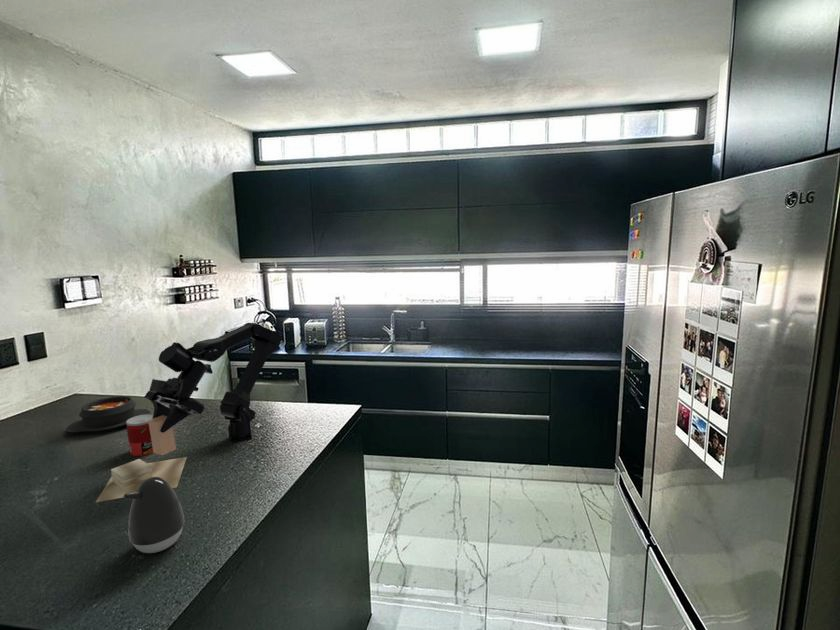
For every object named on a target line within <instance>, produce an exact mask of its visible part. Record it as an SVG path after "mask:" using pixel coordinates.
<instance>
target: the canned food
mask: <svg viewBox="0 0 840 630" xmlns="http://www.w3.org/2000/svg"><path fill="white" fill-rule="evenodd" d="M152 418H153V414H151V413H150V414H146V415H139V416H135V417H132V418H130V419H128V420H127V421H126V425H125V426H126V432H127V440H128V446H129V452H130V455H131V456H133V457H143V456H148V455H151V454H155V453H154V452H153V446H152V441H151V435H150V429H149V423H148V420H151V419H152Z"/></svg>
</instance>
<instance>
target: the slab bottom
mask: <svg viewBox="0 0 840 630" xmlns="http://www.w3.org/2000/svg"><path fill="white" fill-rule="evenodd" d="M111 477H112V480H113V482H114V483H115V484H117V485H118V486H120V487H121V488H123V489H127V488H129V487H132V486H134V485H136V484H139V483H141V482H143V481H145V480H146V479H148V478H151V477H152V472H150V473H147V474H145V475H142V476H140V477H137V478H135V479H132V480H130V481H127V482H125V483H122V482H121V481H119V480H118V479H116V478H115V477H113V476H112V475H111Z"/></svg>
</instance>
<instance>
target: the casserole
mask: <svg viewBox="0 0 840 630" xmlns="http://www.w3.org/2000/svg"><path fill="white" fill-rule="evenodd" d="M136 406H137V402H136V401H134V399H133V397H131V396H127V395H126V396H123V395H120V396H110V397H105V398H100V399H96V400H93V401H91V402H88V403H86V404H85V405H83V406H82V407H81V410H80V412H79V413H78V417H80V418H81V419H79V420H76V421H73V422H72V423H70V424H69V425H68V426H67V427H66V428H65V430H66V432H67V433H68V432H69V433H73V434H74V433H82V432H83V433H84V432H104V431H112V430H115V429H119V428H122V427H123V426H126V421H127V420H128V419H130V418H132V417H135V416H139V415H146V414H151V411H150V410H149V409H147V408H138V409H137V408H135V407H136Z"/></svg>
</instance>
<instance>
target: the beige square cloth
mask: <svg viewBox="0 0 840 630" xmlns="http://www.w3.org/2000/svg"><path fill="white" fill-rule="evenodd" d="M187 458H188V457H187V456H184V457H177V458H173V459H167V460H159V461H154V462H147V463H148V464H149V465H151V469H152V477H160V478H162V479H164V480H165V481H166V482H167V483H168V484H169V485H170V486H171V488H172V489H175V488H177V487H178V485H179V482H180V479H181V476H182V473H183V469H184V467H185V464H186V460H187ZM141 483H142V482H141ZM141 483H139V484H136V485H134V486H132V487H129V488H127V489H123V488H121V487H120V486H118V485H117V484H115V483H114V482H113V480H112V476H111V477H110V478H109V480H108V482H107V484H106V485H105V486H104V488H103V490H102V491H101V493H100V494H99V496H98V498H96V500H95V503H101V502H107V501H112V500H117V499H122V498H124V494H126V493H132V492H136V491H137V489H138V487H139V485H140V484H141Z"/></svg>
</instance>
